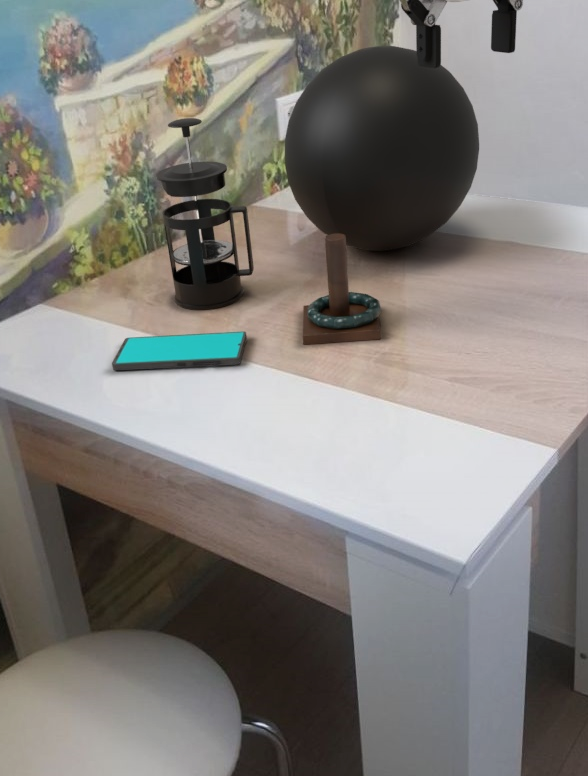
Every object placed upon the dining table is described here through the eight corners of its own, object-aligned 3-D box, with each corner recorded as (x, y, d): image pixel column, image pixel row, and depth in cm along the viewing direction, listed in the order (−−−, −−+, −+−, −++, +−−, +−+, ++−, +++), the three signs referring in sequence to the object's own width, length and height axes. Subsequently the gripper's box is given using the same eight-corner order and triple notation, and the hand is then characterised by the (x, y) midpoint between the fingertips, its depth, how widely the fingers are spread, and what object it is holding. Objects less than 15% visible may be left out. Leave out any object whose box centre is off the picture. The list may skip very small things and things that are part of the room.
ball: (475, 212, 138) (479, 24, 124) (479, 276, 116) (485, 55, 102) (306, 220, 144) (291, 40, 130) (279, 282, 121) (258, 73, 107)
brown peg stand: (375, 309, 110) (372, 221, 104) (380, 339, 103) (376, 246, 97) (304, 314, 111) (296, 227, 105) (303, 344, 103) (295, 253, 98)
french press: (163, 311, 116) (132, 131, 104) (177, 285, 124) (150, 115, 112) (251, 307, 115) (229, 124, 103) (259, 281, 122) (241, 107, 110)
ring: (378, 298, 110) (377, 288, 109) (383, 327, 102) (383, 316, 102) (307, 304, 111) (306, 293, 110) (308, 333, 103) (307, 322, 102)
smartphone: (125, 337, 108) (246, 331, 106) (126, 343, 108) (247, 337, 106) (110, 364, 102) (238, 358, 100) (112, 371, 102) (239, 365, 100)
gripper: (418, -129, 78) (420, 76, 87) (567, -145, 84) (554, 48, 93) (372, -122, 84) (378, 69, 93) (514, -137, 90) (507, 44, 99)
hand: (466, 59), depth 93 cm, fingers open, 9 cm apart
